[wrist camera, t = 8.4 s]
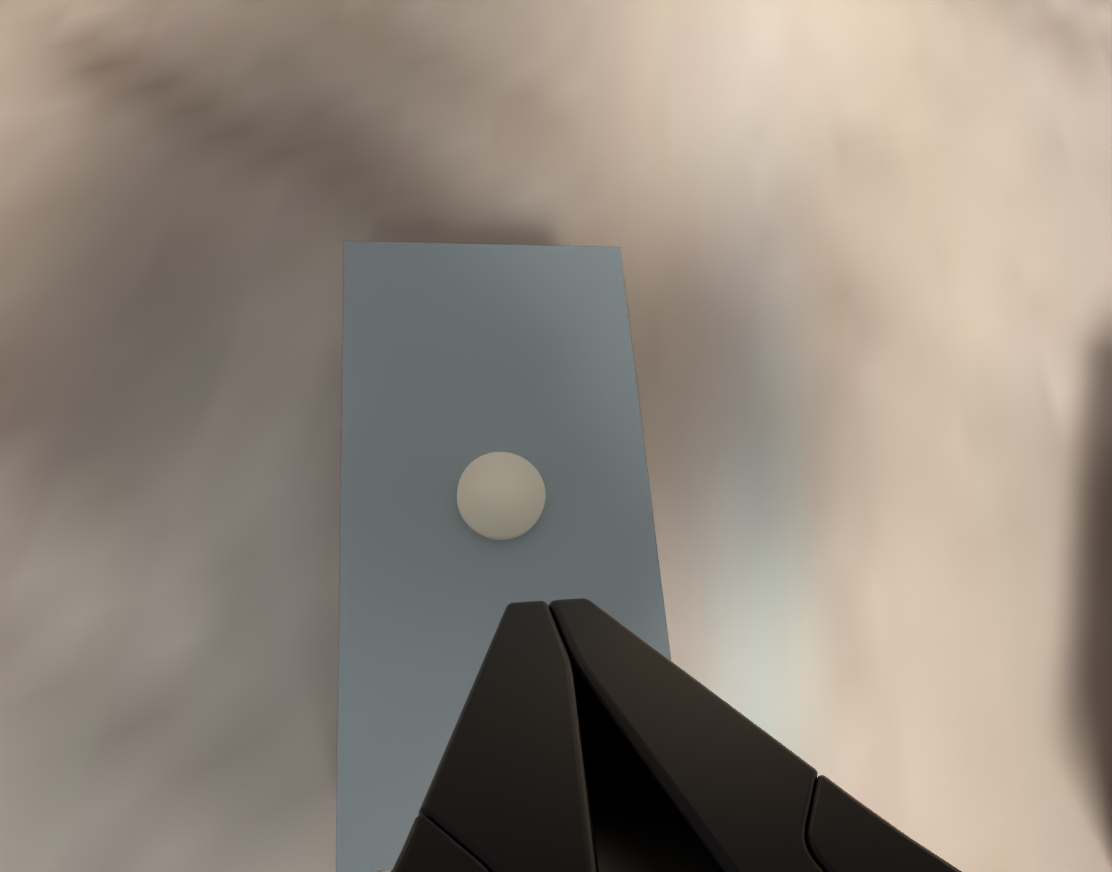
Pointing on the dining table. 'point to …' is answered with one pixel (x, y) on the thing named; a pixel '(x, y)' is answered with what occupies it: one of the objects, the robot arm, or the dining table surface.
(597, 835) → the robot arm
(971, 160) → the dining table surface
